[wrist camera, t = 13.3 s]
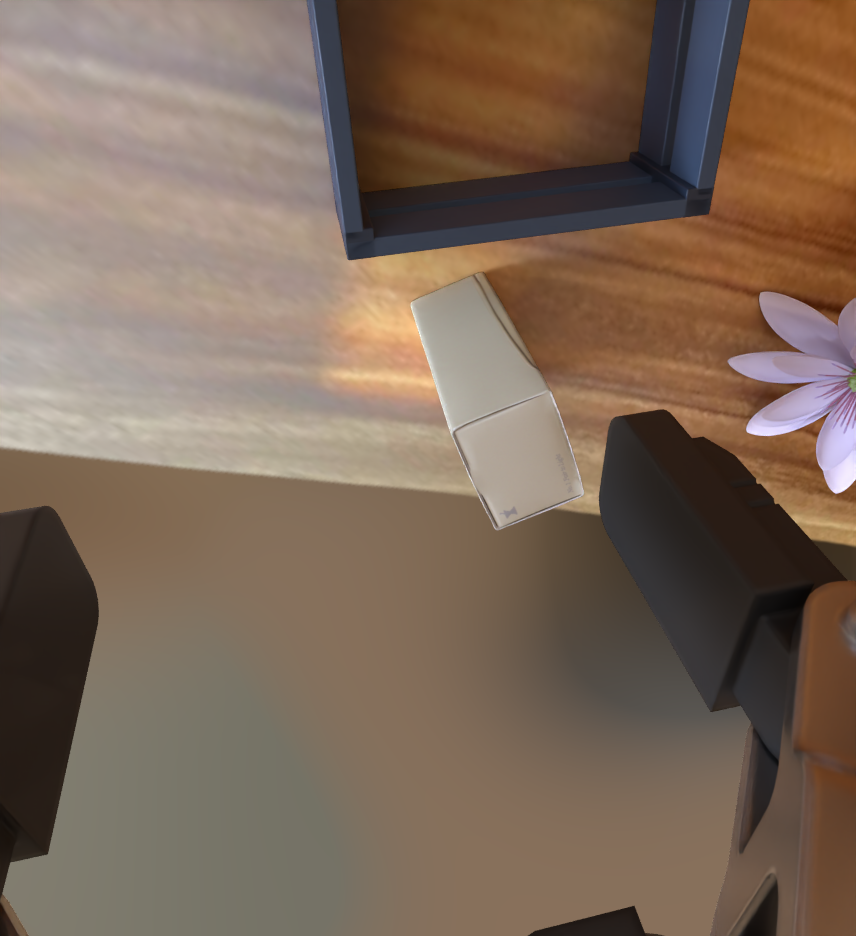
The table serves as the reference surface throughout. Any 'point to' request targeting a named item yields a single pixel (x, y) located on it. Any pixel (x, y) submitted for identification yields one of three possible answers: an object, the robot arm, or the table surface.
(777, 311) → the water lily
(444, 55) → the table surface
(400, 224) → the crate
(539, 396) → the cosmetic box
